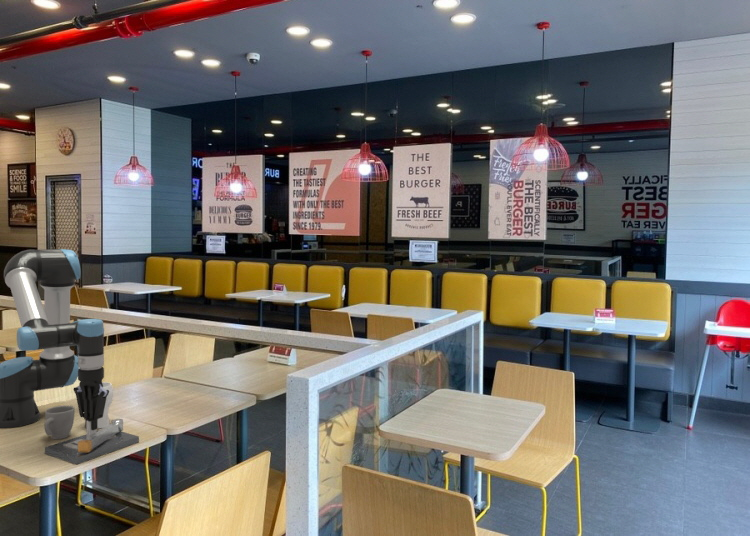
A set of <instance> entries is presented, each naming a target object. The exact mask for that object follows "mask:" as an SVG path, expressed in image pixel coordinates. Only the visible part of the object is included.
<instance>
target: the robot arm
mask: <svg viewBox="0 0 750 536" xmlns="http://www.w3.org/2000/svg"><path fill="white" fill-rule="evenodd" d="M81 271H82V270H81V264H80V260H79V257H78V255H77V253H76V252H75V251H74V250H72V249H64V248H63V249H62V248H56V249H55V248H53V249H49V248H48V249H26V250H22V251H20V252H18V253H16V254H14V256H12V257H11V258H10V259H9V260H8V262H7V263H6V265H5V267H4V270H3V280H4V282H5V284H6V286H7V287H8V288H10V290H11V291H10V292H11V295H12V299H13V302H14V306H15V309H16V312H17V315H18V319H19V322H20V326H21V327H19V328H18V329H17V330H16V344H17V348H18V349H19V350H20V351H23V352H25V351H27V352H28V351H38V350H42V351H41V352H40V353H39V359H34V358H33V357H32V356H19V357H15V358H10V359H8V360H4V361H2V362H1V363H0V428H1V429H8V428H9V429H10V428H19V427H23V426H27V425H31V424H33V423H35V422H38V421H40V419H41V415H40V414H41V413H40V410H39V407H38V405H37V403H36V400H35V393H34V392H38V391H45V390H51V389H57V388H64V387H69V386H72V385H74V384H75V382H77V380H78V381H79V385H78V386H75V387H73V388H72V389H73V392H74V394H75V397H76V398H75V399H76V403H77V408H78V414H79V417H80V418H82V419H83V420H84V421H85V422H84V423H85V425H84V427H85V431H86V434H87V438H88V437H90V436H91V435H93V434H95V433H96V431H97V430H98V429H97V420H98V419H99V418H102V417H103V413H104V408H105V403H106V398H107V395H108V394H109V390H105V389H104V388H103V384H102V382H103V379H104V377H105V368H104V367H103V366H105V357H104V356H105V355H104V354H105V352H104V351H105V350H104V349H105V347H104V346H105V345H104V344H105V343H104V342H105V339H104V333H105V328H104V321H103V319H101V318H87V319H86V318H85V319H81V320H76V321H73V322H71V289H72V288H73V287H75V285H76V281H78V280H79V279H81V275H82V274H81V273H82V272H81ZM36 282H39V286H40V287H41V288H42V289H43V290H44V298H43V299H44V305H43V302H42V299H41V296H40V293H39V290H38V287H37V284H36ZM72 346H74V347H75V346H77V355H75V353H74V350H72V349H71V348H70V347H72Z"/></svg>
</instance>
